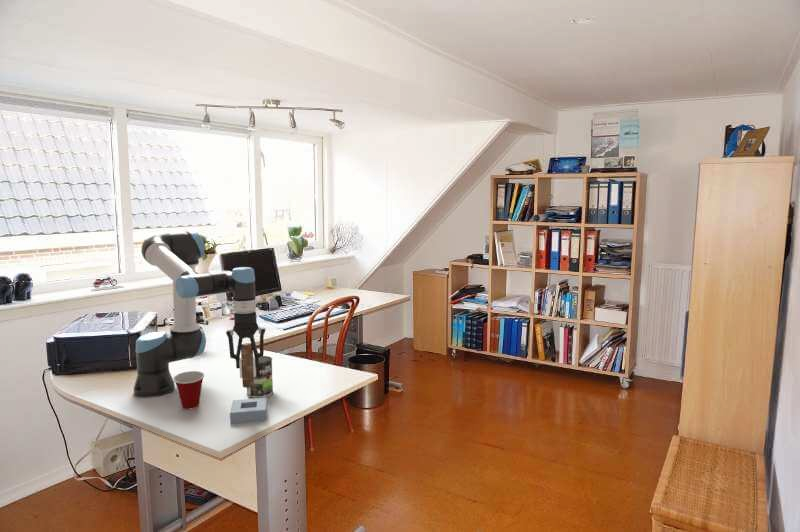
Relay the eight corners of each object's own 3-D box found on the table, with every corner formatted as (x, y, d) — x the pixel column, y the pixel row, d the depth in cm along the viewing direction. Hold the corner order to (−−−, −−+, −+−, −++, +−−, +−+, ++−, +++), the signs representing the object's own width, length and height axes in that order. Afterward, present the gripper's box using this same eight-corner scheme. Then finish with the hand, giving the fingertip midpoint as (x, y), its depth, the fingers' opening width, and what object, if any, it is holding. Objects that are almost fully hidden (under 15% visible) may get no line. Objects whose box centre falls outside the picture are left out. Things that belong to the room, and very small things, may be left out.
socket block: (230, 424, 184) (229, 412, 183) (233, 410, 195) (232, 400, 195) (266, 420, 186) (265, 409, 186) (266, 407, 198) (266, 397, 198)
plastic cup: (173, 413, 193) (171, 381, 192) (176, 403, 203) (174, 372, 202) (205, 410, 196) (203, 378, 195) (206, 399, 206) (204, 369, 205)
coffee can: (278, 391, 215) (277, 358, 213) (259, 400, 206) (258, 364, 204) (260, 387, 220) (259, 354, 218) (241, 395, 211) (239, 360, 210)
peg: (242, 388, 187) (240, 346, 185) (243, 384, 191) (241, 343, 189) (254, 387, 188) (252, 345, 186) (254, 383, 192) (252, 342, 190)
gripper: (218, 315, 181) (222, 381, 183) (269, 312, 184) (272, 377, 187) (220, 310, 188) (224, 374, 191) (270, 308, 192) (272, 371, 194)
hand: (248, 376), depth 189 cm, fingers closed on peg, 4 cm apart
